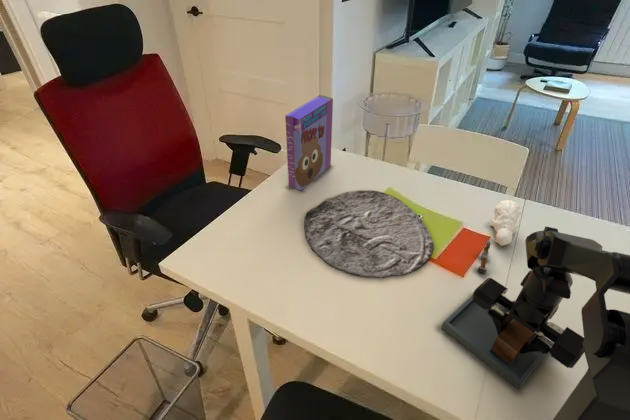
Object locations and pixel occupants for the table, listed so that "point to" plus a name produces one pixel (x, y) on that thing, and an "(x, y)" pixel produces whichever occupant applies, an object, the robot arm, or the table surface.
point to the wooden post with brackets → (484, 257)
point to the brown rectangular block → (511, 342)
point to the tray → (487, 341)
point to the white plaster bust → (505, 221)
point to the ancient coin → (368, 234)
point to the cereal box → (309, 141)
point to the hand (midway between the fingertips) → (511, 344)
